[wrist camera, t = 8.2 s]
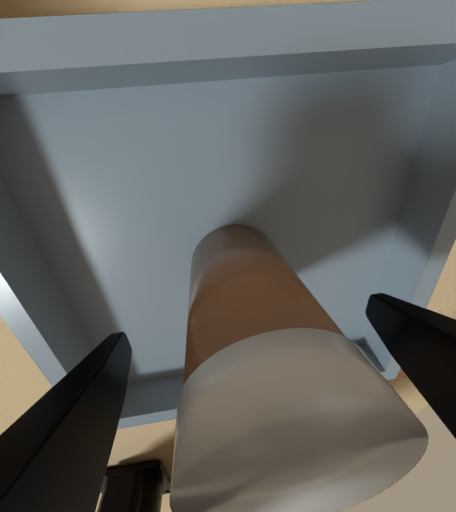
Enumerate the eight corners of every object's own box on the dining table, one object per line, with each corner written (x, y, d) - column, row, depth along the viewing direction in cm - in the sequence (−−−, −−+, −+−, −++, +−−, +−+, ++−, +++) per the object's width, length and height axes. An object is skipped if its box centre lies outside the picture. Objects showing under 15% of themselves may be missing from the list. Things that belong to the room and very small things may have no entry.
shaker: (276, 294, 13) (389, 504, 5) (196, 306, 12) (193, 547, 5) (278, 216, 11) (475, 381, 3) (181, 228, 10) (134, 446, 3)
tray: (365, 342, 17) (395, 378, 14) (106, 386, 16) (87, 434, 13) (452, 38, 9) (560, -9, 6) (-66, 72, 8) (-212, 28, 5)
